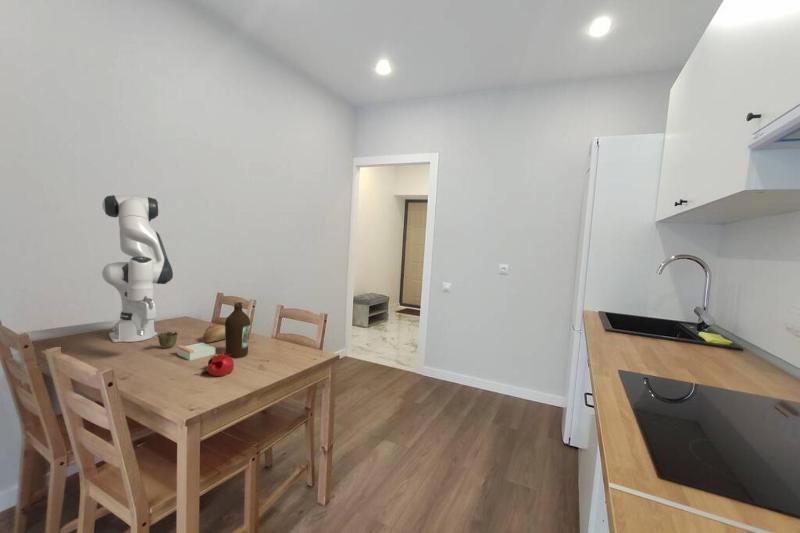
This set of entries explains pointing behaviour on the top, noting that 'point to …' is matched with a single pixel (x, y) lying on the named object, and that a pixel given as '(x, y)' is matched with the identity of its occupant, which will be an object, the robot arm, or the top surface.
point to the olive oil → (237, 332)
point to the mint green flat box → (195, 351)
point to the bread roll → (214, 333)
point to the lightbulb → (138, 324)
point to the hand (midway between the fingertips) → (140, 326)
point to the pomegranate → (220, 365)
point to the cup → (167, 339)
